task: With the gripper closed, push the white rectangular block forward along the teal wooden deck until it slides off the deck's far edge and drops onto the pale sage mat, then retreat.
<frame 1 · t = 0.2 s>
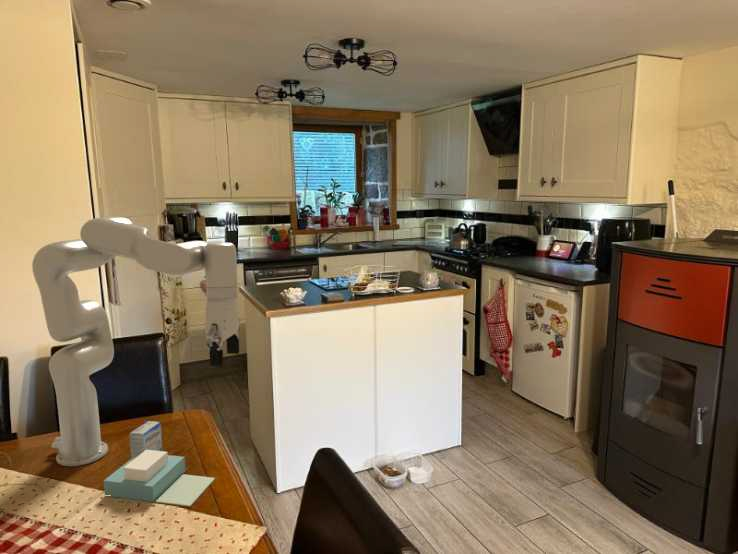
hand: (225, 359, 129), 31 cm above the table, fingers open, 9 cm apart
medicine box: (147, 457, 142), on the table
mat: (186, 490, 126), on the table
deck: (146, 482, 129), on the table
white rectangular block: (146, 470, 127), point 4 cm above the table, touching deck
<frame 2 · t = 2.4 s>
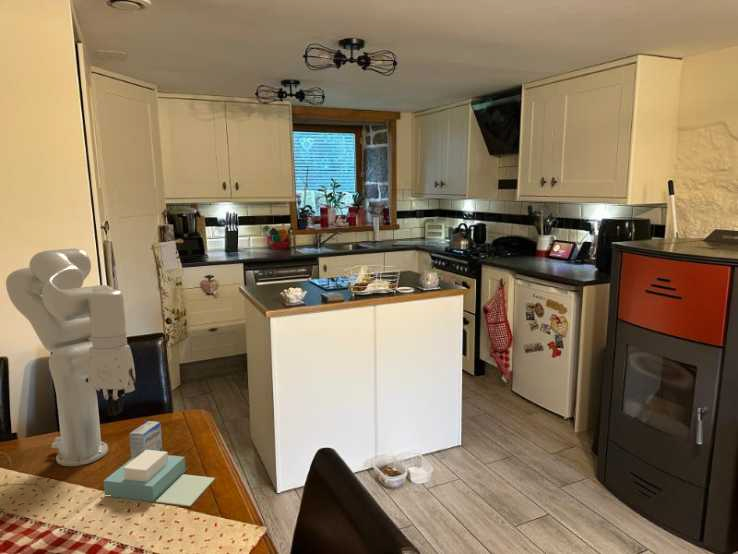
hand: (115, 412, 126), 19 cm above the table, fingers closed
nothing on the table moved.
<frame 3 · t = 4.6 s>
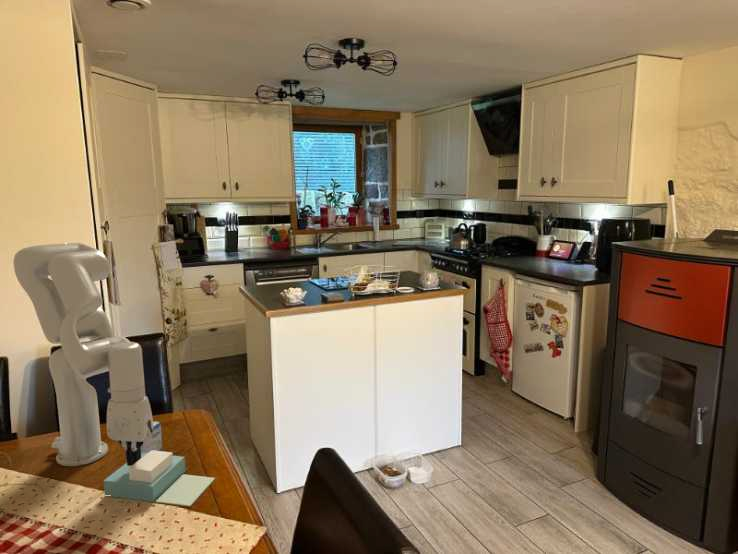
hand: (134, 463, 127), 6 cm above the table, fingers closed
white rectangular block: (151, 471, 127), point 4 cm above the table, touching deck
everything else where it was.
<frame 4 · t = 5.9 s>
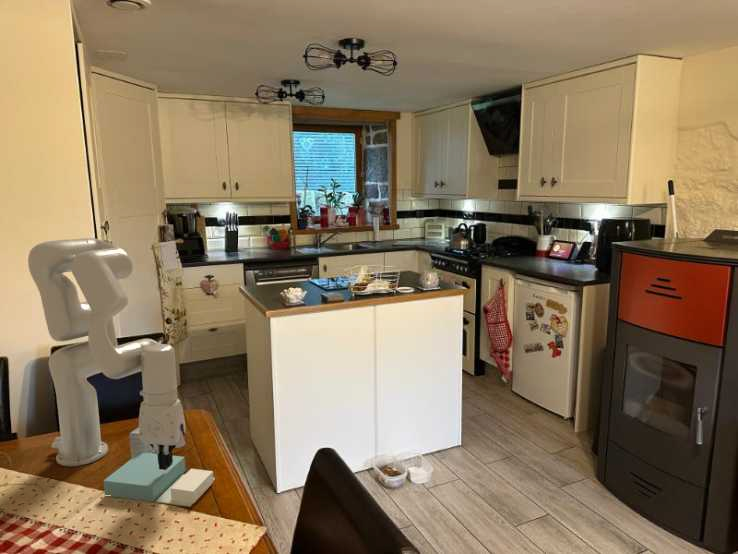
hand: (165, 466, 126), 6 cm above the table, fingers closed
white rectangular block: (192, 479, 124), point 3 cm above the table, tilted 180°, touching mat
everything else where it was.
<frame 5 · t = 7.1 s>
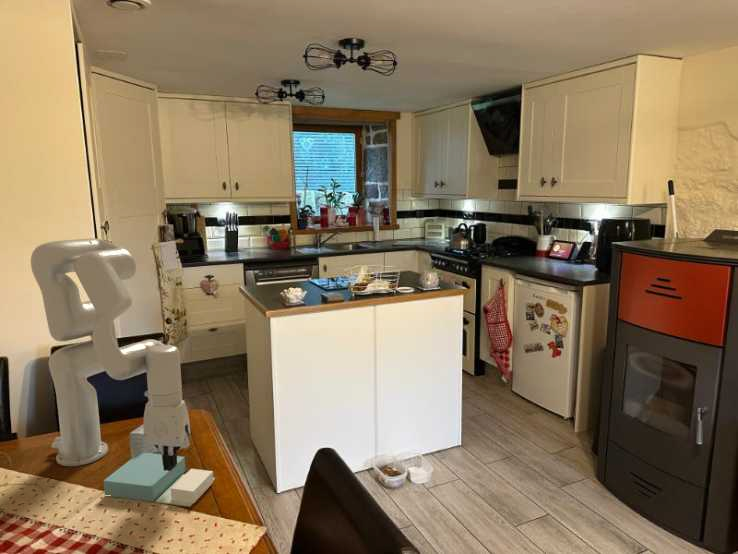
hand: (170, 467, 126), 6 cm above the table, fingers closed
nothing on the table moved.
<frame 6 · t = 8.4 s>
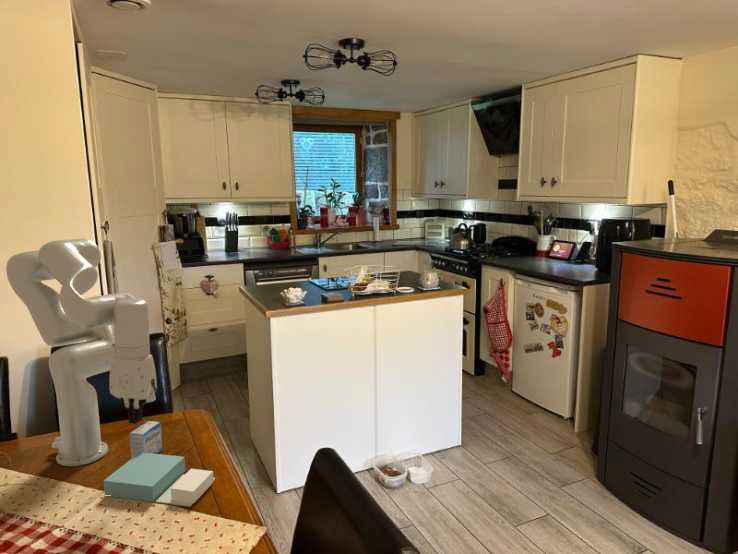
hand: (135, 421, 126), 17 cm above the table, fingers closed
nothing on the table moved.
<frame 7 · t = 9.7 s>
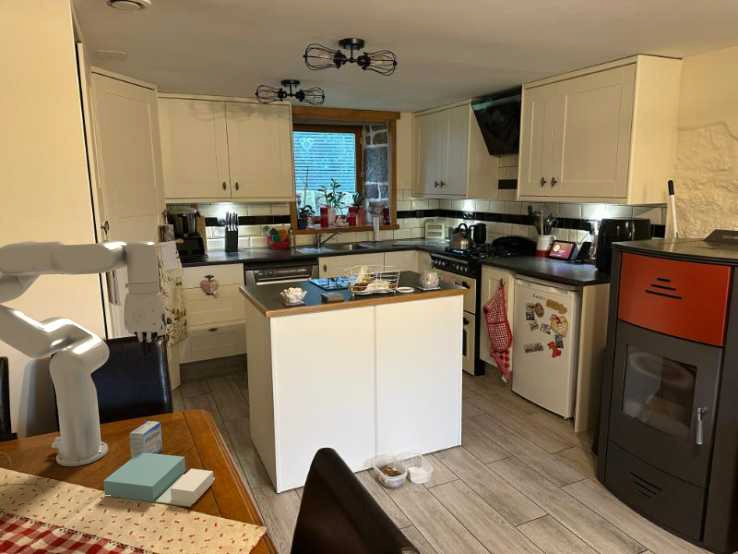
hand: (148, 354, 138), 29 cm above the table, fingers closed
nothing on the table moved.
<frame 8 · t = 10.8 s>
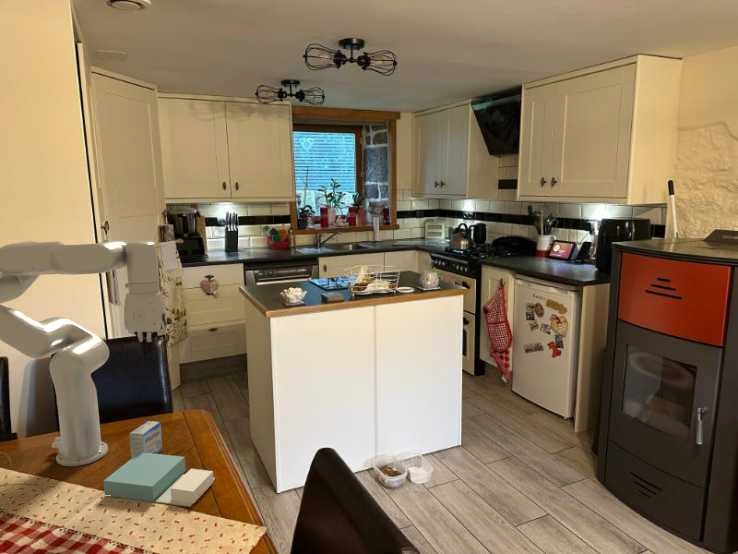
hand: (148, 354, 138), 29 cm above the table, fingers closed
nothing on the table moved.
at the end: white rectangular block inside the target area on the mat (2.0 cm from its centre), point 3.3 cm above the mat's base; white rectangular block touching mat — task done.
